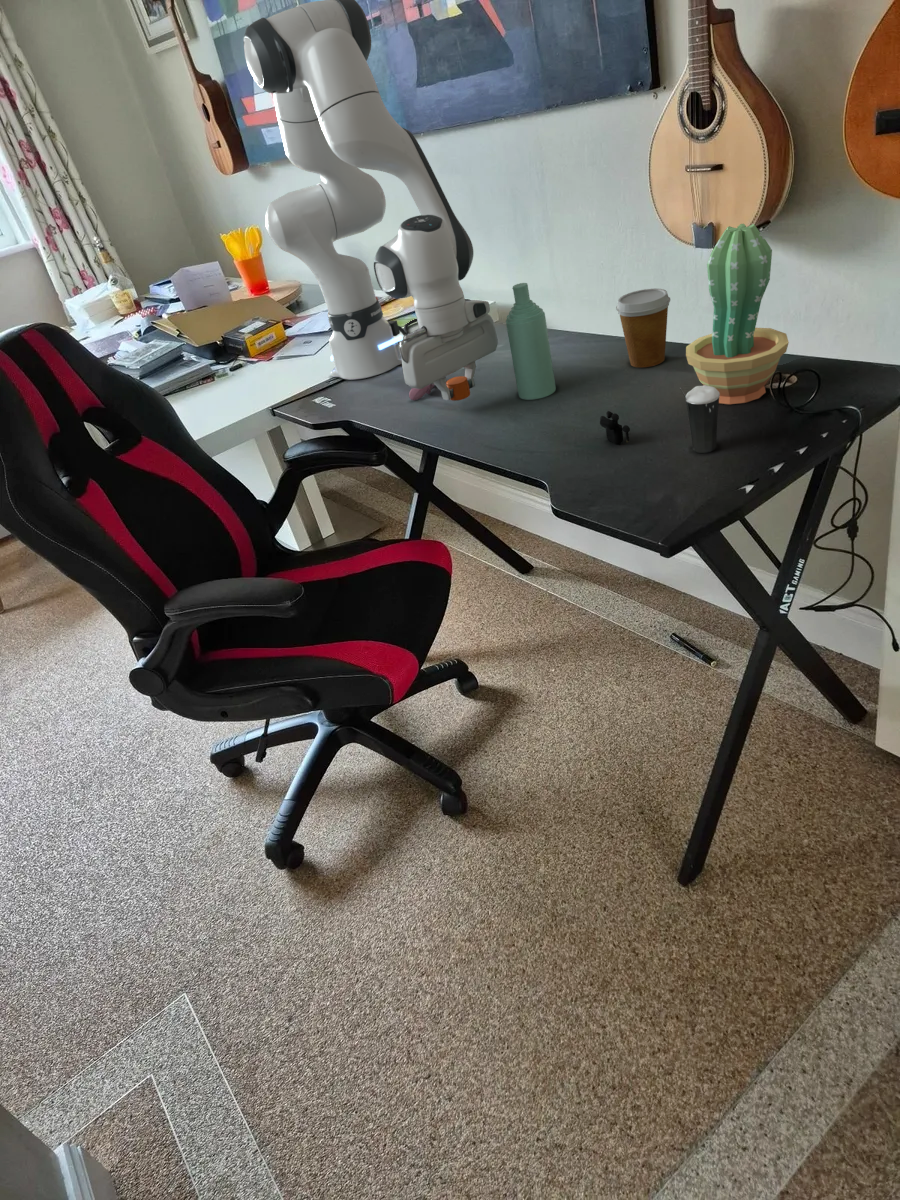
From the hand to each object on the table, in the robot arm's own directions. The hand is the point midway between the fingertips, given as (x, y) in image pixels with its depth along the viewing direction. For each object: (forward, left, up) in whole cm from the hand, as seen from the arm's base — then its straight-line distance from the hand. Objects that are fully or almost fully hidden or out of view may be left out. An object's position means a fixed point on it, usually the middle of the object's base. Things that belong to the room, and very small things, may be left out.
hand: (459, 393), depth 143 cm
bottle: (-3, +14, -4) cm, 15 cm away
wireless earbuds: (+25, +25, -4) cm, 35 cm away
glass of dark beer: (+32, +37, -4) cm, 49 cm away
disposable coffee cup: (-8, +35, -4) cm, 36 cm away
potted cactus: (+14, +46, -4) cm, 48 cm away
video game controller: (-15, -8, -4) cm, 18 cm away
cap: (0, 0, -1) cm, 1 cm away
